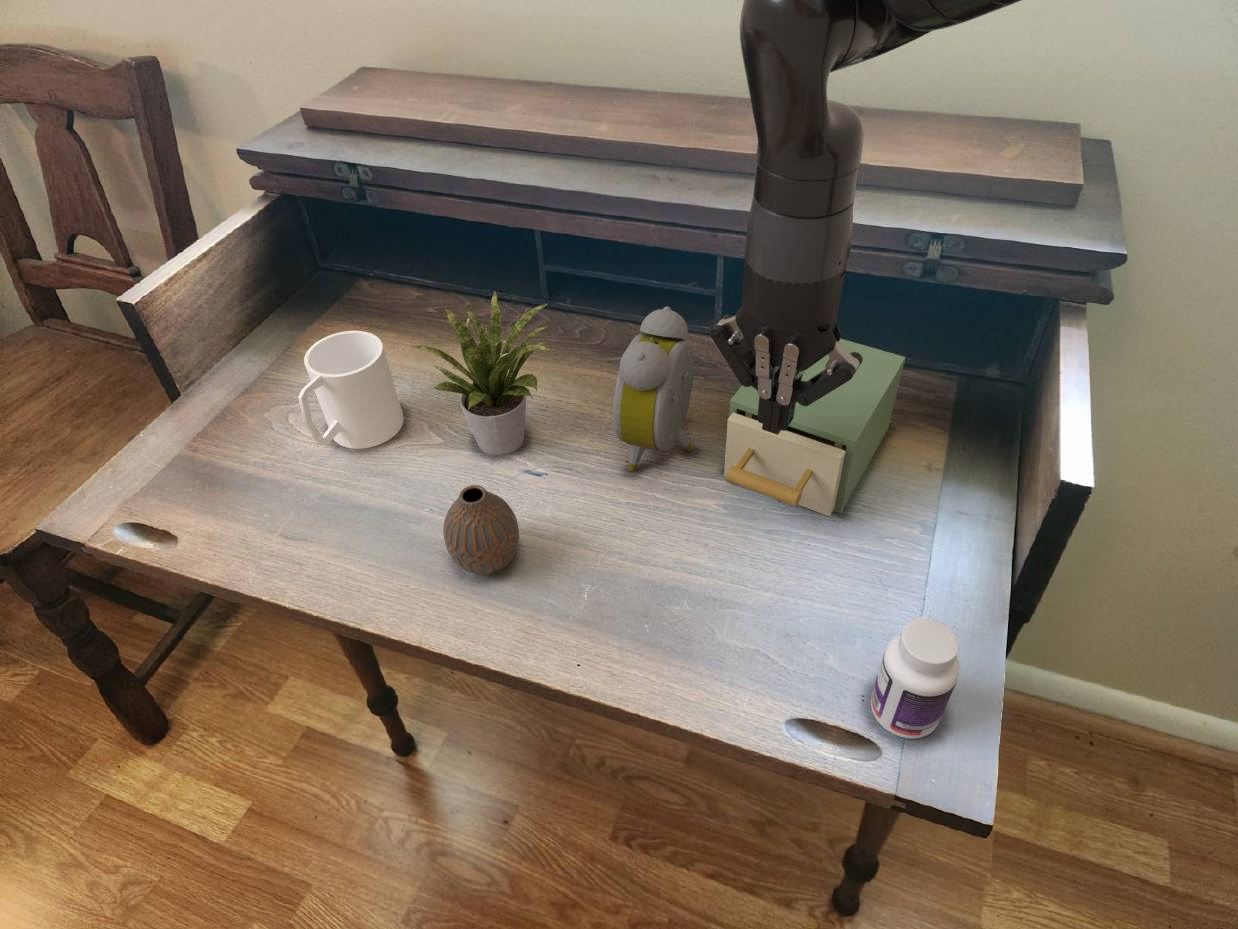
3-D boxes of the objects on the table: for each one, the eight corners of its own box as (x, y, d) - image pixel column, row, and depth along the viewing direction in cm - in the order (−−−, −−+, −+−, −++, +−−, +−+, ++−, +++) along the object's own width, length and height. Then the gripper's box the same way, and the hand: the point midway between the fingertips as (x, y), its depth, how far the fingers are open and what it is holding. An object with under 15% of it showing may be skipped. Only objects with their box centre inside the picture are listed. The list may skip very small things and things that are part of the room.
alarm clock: (650, 406, 95) (647, 293, 85) (707, 418, 93) (712, 303, 83) (614, 474, 87) (606, 359, 77) (676, 488, 85) (677, 372, 75)
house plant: (596, 413, 94) (587, 289, 83) (545, 496, 85) (526, 369, 74) (486, 388, 99) (462, 267, 87) (425, 465, 89) (390, 340, 78)
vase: (498, 519, 83) (484, 456, 77) (537, 560, 79) (526, 496, 73) (438, 554, 80) (419, 491, 74) (475, 598, 76) (458, 535, 70)
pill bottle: (953, 711, 66) (985, 641, 59) (913, 754, 64) (941, 686, 57) (895, 667, 69) (920, 597, 62) (855, 707, 67) (876, 638, 60)
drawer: (812, 548, 78) (822, 490, 72) (703, 505, 82) (705, 447, 77) (876, 435, 89) (889, 377, 83) (776, 402, 93) (783, 345, 88)
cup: (293, 460, 91) (262, 388, 84) (359, 395, 99) (336, 324, 92) (354, 479, 88) (327, 406, 81) (417, 410, 96) (397, 339, 89)
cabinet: (840, 514, 82) (856, 442, 75) (725, 470, 87) (730, 400, 80) (888, 428, 91) (905, 356, 84) (781, 393, 96) (789, 323, 89)
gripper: (693, 254, 62) (688, 428, 74) (865, 300, 57) (830, 479, 69) (736, 211, 66) (725, 382, 79) (899, 250, 61) (861, 426, 73)
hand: (774, 427), depth 74 cm, fingers closed
